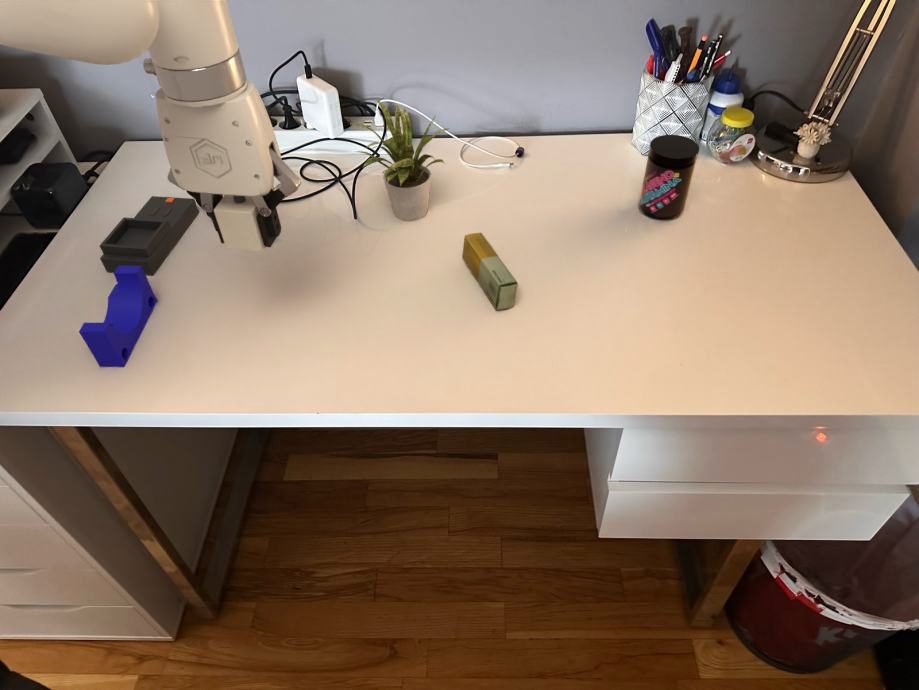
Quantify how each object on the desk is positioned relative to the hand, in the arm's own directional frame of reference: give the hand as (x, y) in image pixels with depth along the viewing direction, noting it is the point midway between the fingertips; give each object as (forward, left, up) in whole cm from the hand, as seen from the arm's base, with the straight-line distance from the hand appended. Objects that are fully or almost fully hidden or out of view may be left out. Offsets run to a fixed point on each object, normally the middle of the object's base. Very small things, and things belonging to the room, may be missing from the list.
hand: (250, 236), depth 74 cm
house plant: (+10, +29, -15) cm, 34 cm away
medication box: (+25, +13, -15) cm, 32 cm away
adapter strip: (-25, +17, -15) cm, 34 cm away
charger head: (0, 0, 0) cm, 0 cm away
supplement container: (+49, +33, -15) cm, 61 cm away
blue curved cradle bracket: (-20, -2, -15) cm, 25 cm away
